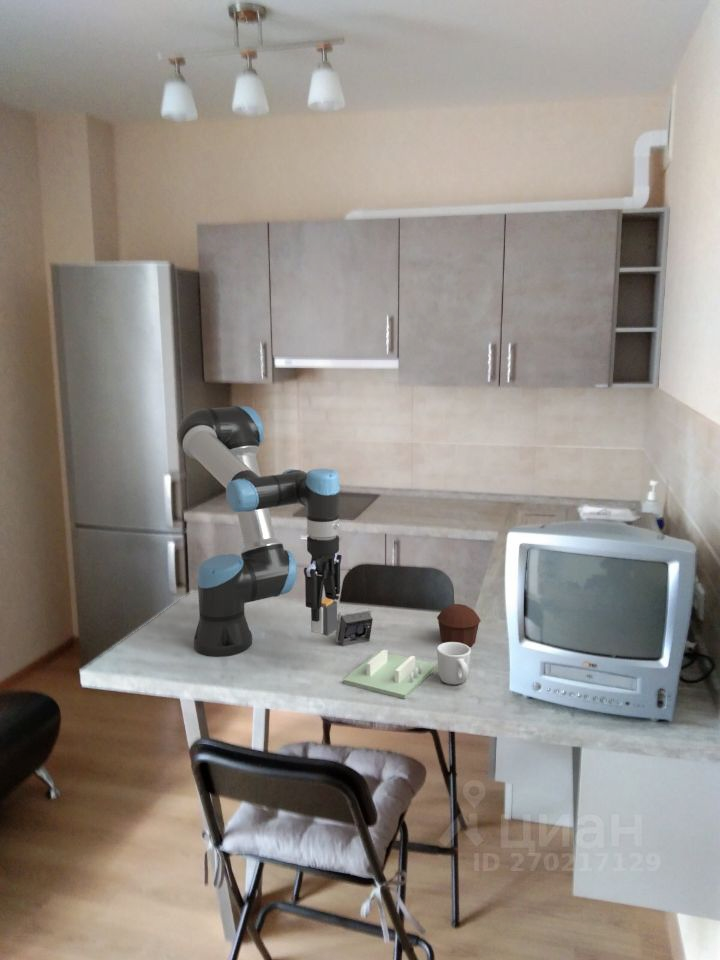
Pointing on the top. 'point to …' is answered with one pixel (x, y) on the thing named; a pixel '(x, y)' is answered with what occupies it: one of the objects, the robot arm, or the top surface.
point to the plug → (328, 616)
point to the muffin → (458, 624)
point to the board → (390, 674)
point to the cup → (453, 662)
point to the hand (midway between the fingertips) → (323, 628)
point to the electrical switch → (354, 627)
